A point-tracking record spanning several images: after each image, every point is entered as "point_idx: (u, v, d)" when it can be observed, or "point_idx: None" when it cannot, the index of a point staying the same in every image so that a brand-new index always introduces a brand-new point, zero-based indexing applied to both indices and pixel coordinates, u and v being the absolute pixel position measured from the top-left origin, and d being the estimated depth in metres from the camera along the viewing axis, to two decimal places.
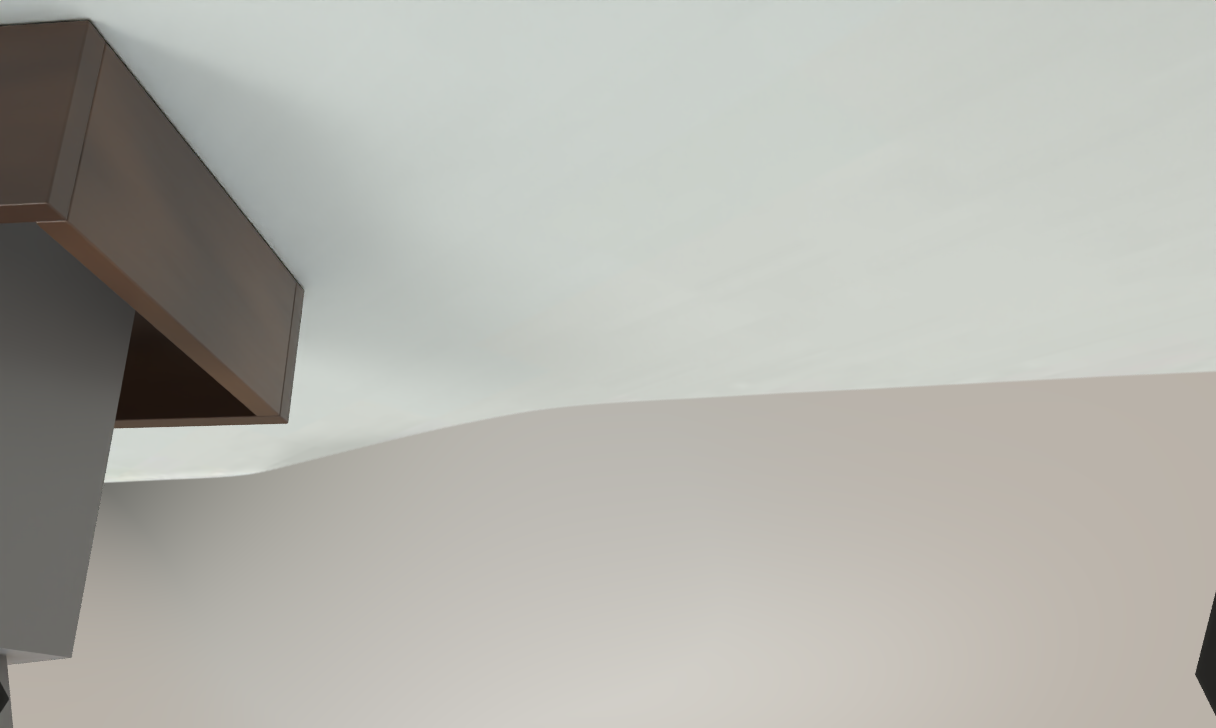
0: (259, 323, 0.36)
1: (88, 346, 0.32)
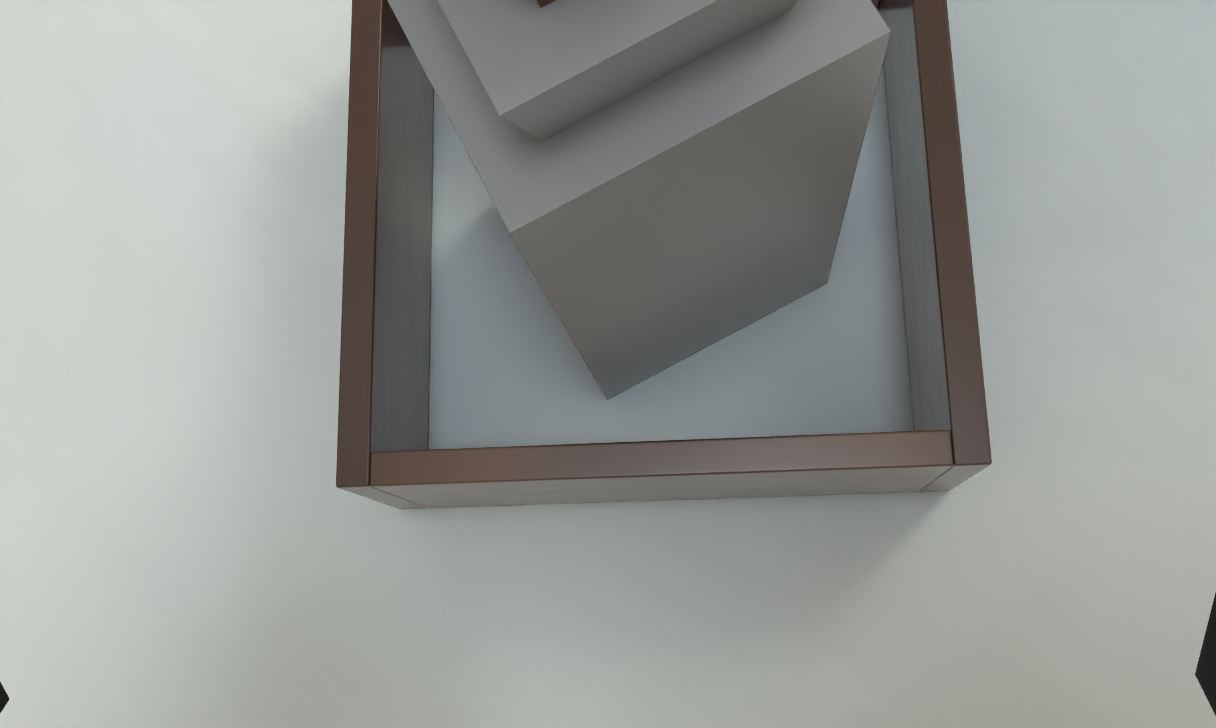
0: (495, 493, 0.28)
1: (630, 332, 0.26)
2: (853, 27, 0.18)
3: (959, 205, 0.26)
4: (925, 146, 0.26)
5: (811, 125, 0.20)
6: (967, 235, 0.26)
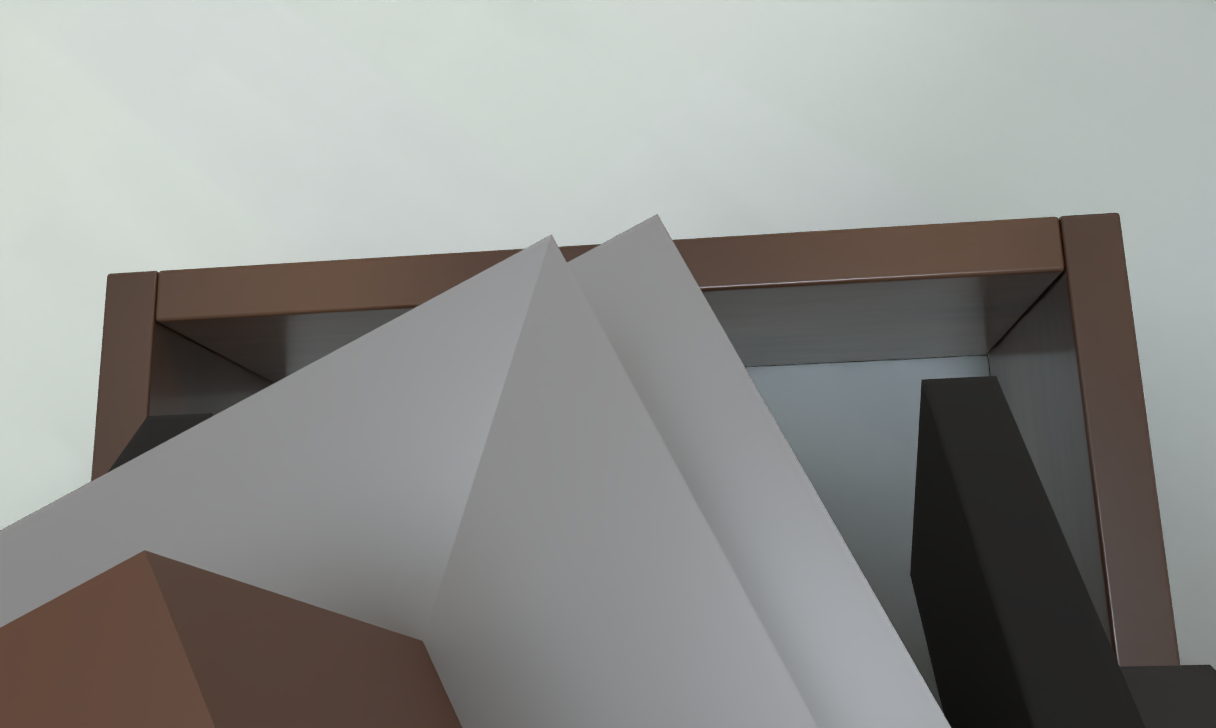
0: None
1: None
2: None
3: None
4: None
5: None
6: None
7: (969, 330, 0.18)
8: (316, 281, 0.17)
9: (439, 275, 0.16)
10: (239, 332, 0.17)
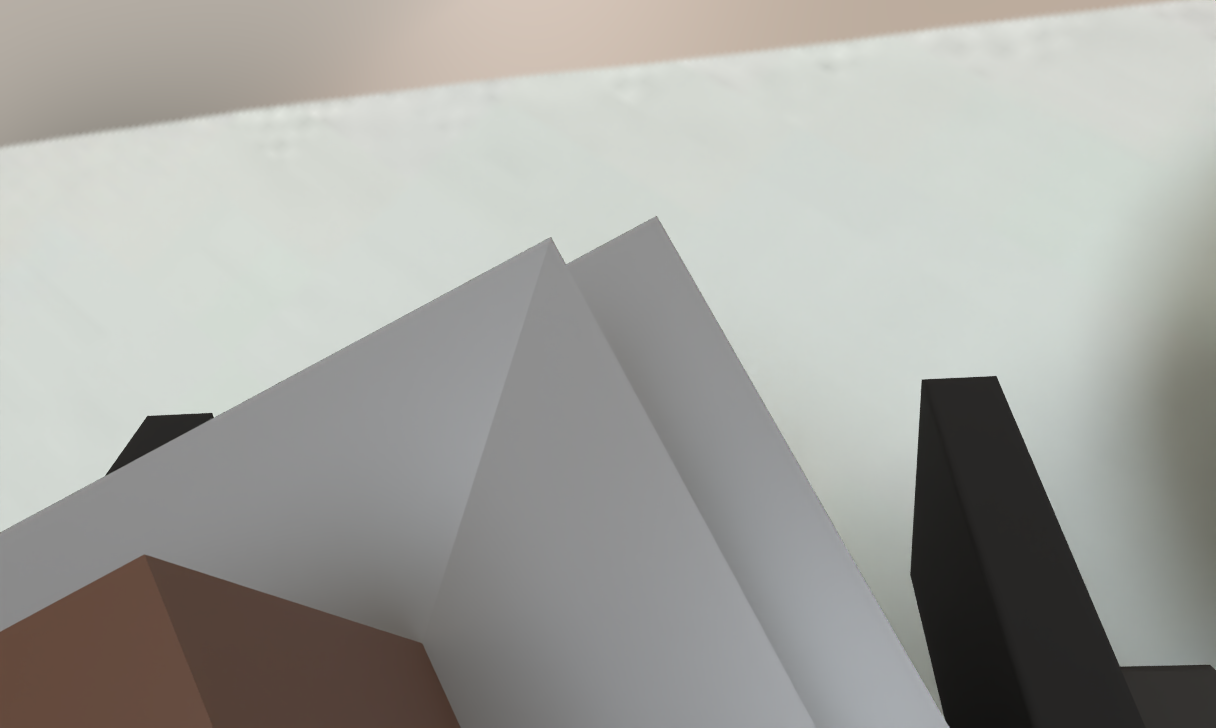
0: None
1: None
2: None
3: None
4: None
5: None
6: None
7: None
8: None
9: None
10: None
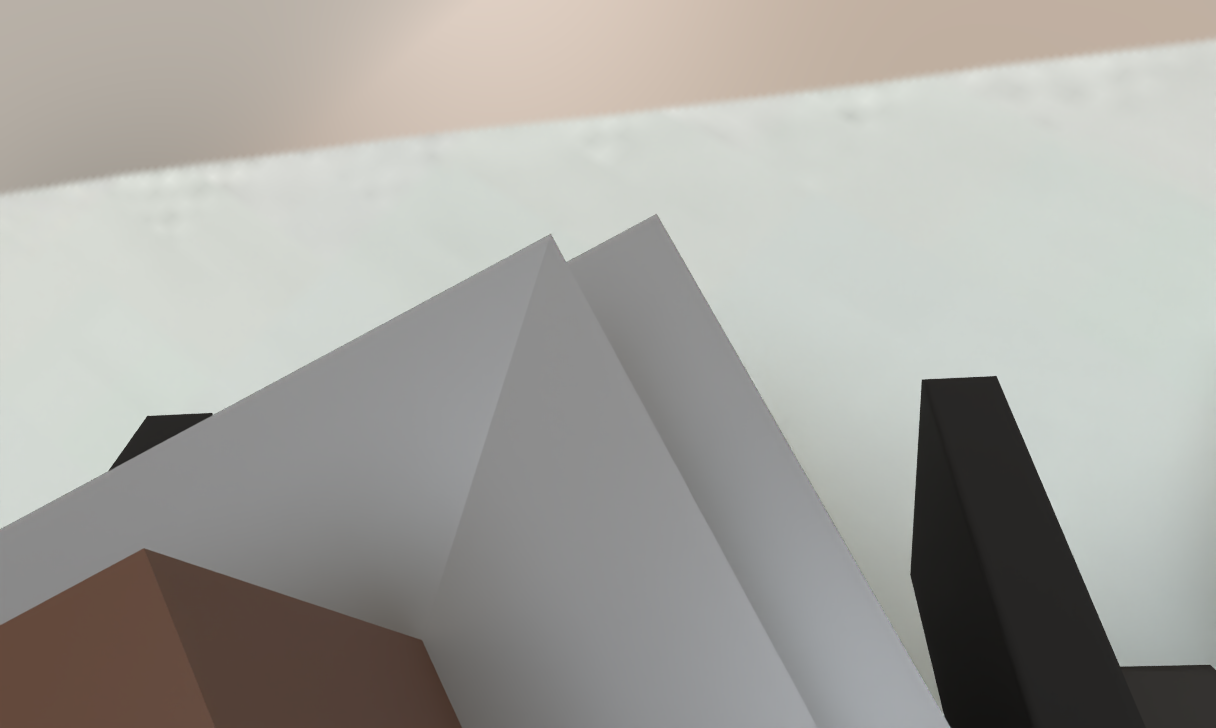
0: None
1: None
2: None
3: None
4: None
5: None
6: None
7: None
8: None
9: None
10: None
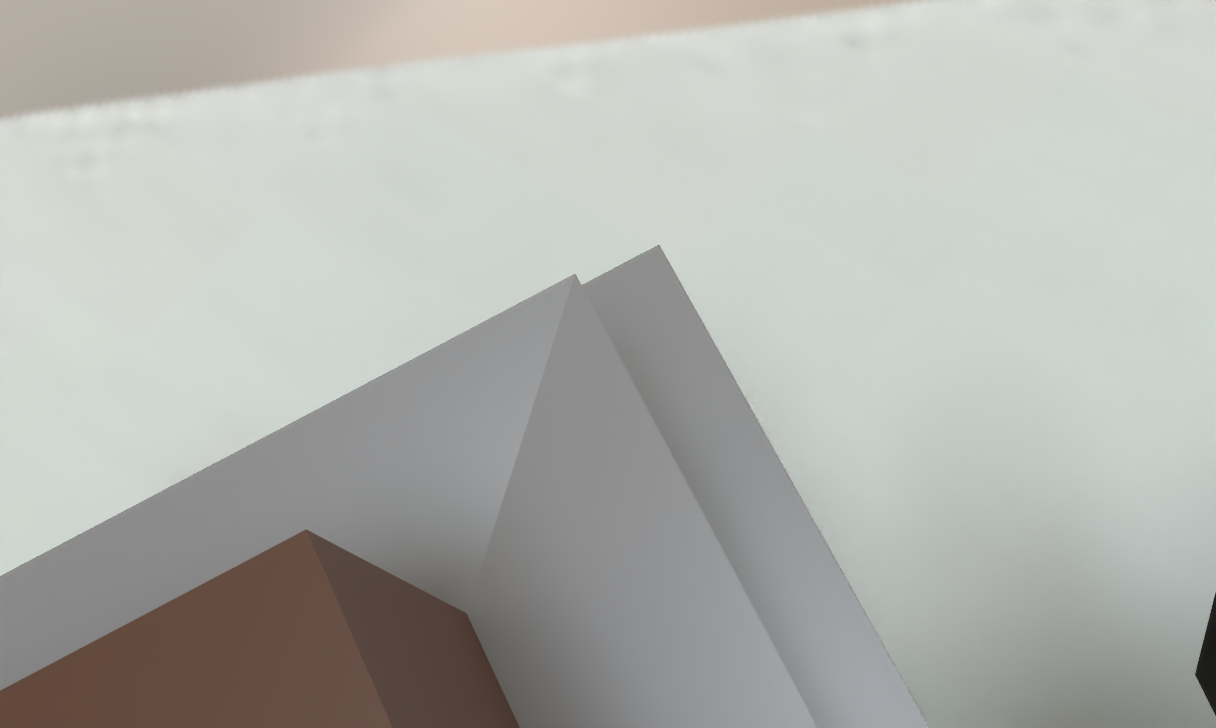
0: None
1: None
2: None
3: None
4: None
5: None
6: None
7: None
8: None
9: None
10: None
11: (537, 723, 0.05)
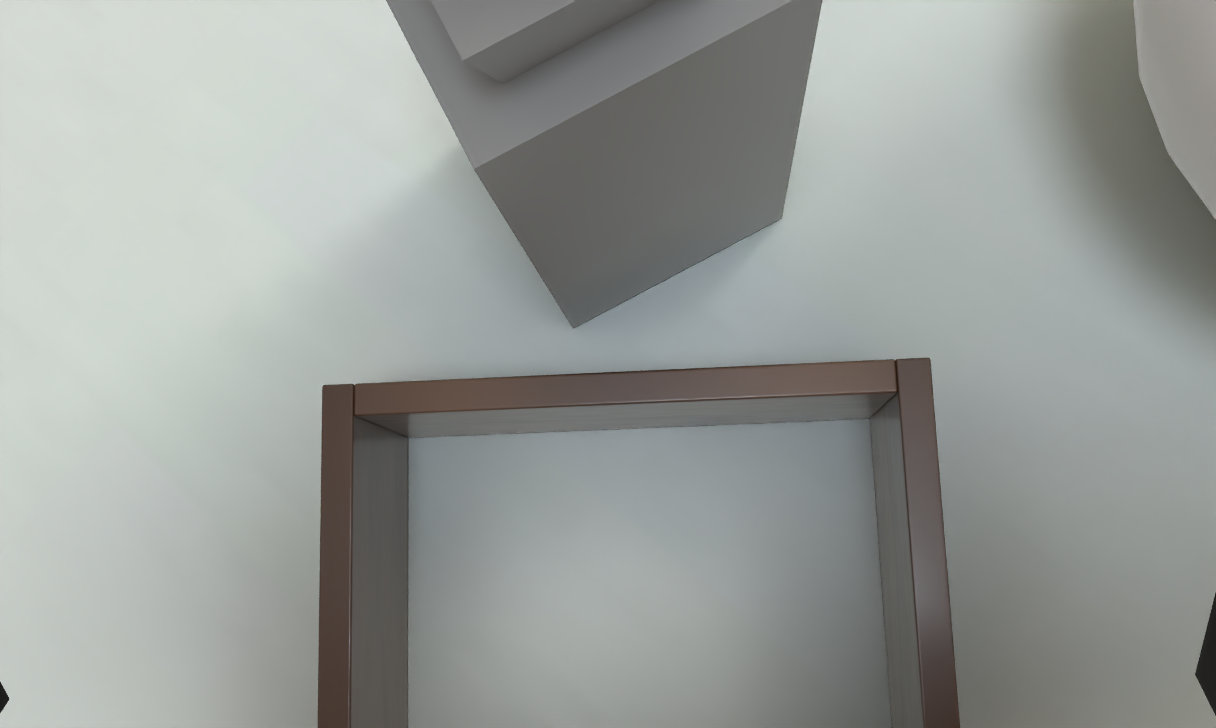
0: None
1: (592, 263, 0.28)
2: None
3: None
4: (919, 675, 0.25)
5: (755, 69, 0.21)
6: None
7: (852, 411, 0.29)
8: (453, 392, 0.27)
9: (528, 389, 0.27)
10: (400, 418, 0.28)
11: None
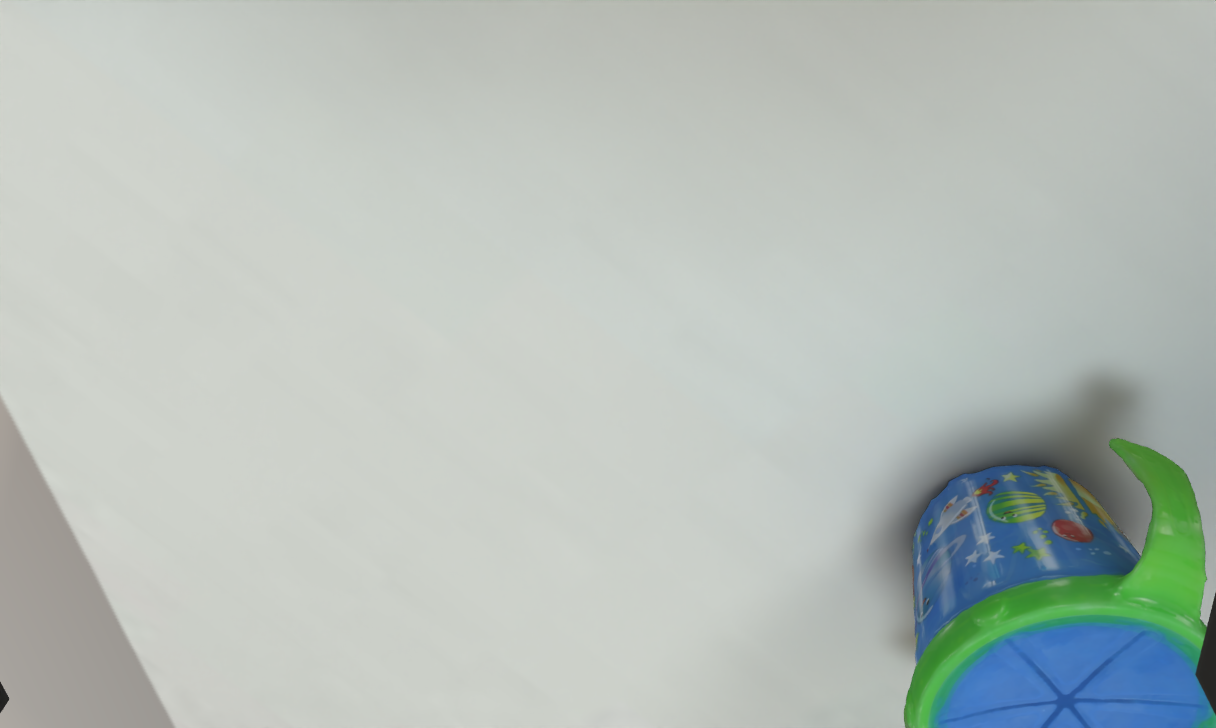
0: None
1: None
2: None
3: None
4: None
5: None
6: None
7: None
8: None
9: None
10: None
11: None
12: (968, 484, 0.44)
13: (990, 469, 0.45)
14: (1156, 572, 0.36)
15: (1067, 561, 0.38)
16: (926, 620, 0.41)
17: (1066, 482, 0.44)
